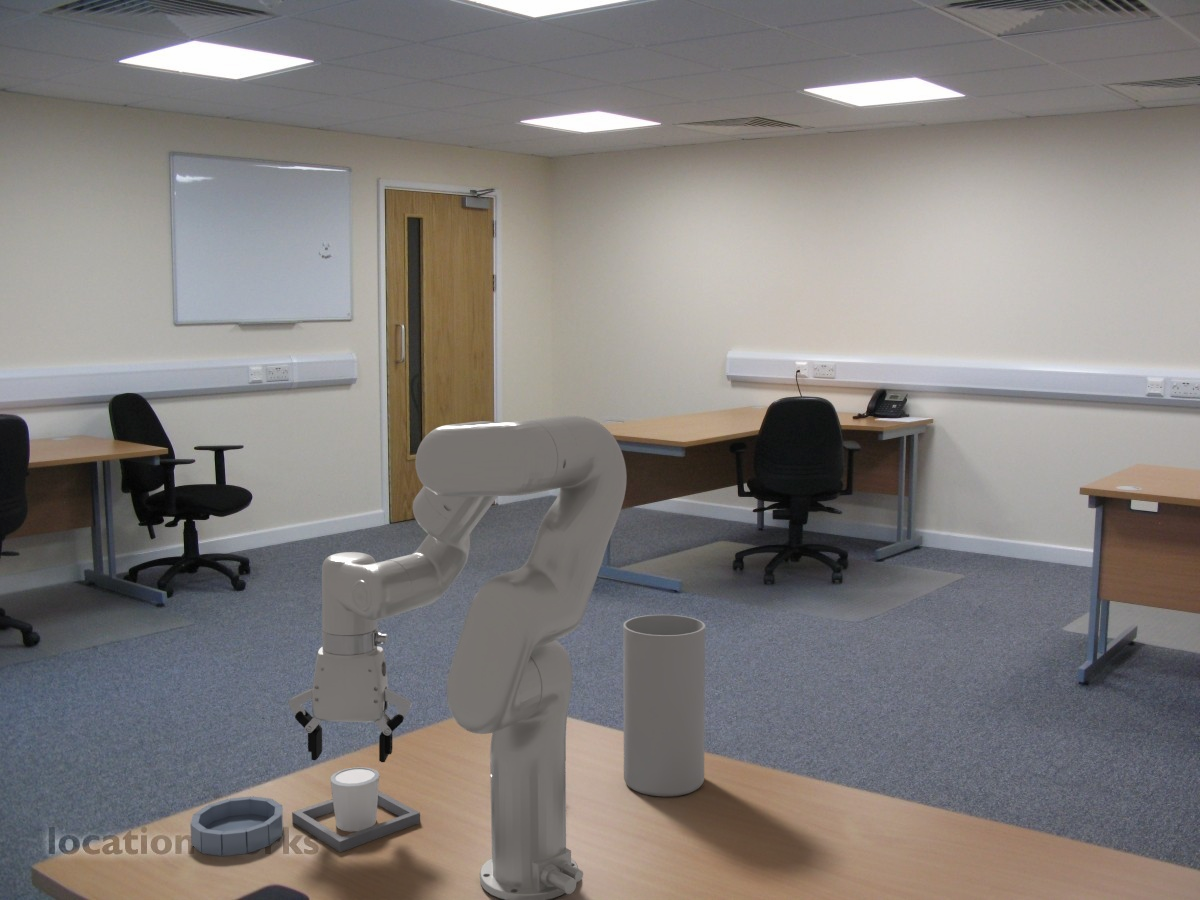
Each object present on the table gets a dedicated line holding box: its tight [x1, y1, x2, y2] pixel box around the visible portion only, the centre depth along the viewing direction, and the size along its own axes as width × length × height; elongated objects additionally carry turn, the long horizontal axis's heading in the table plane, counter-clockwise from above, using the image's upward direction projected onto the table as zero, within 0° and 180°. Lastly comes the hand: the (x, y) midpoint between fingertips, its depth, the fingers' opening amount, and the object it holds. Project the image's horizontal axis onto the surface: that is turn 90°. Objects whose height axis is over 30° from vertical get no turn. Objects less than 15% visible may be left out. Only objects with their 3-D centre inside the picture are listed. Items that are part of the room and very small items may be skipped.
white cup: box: [329, 766, 380, 832], centre depth 158 cm, size 7×7×7 cm
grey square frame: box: [291, 790, 421, 853], centre depth 158 cm, size 13×13×2 cm
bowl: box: [190, 795, 284, 857], centre depth 154 cm, size 12×12×3 cm
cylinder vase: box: [622, 614, 706, 798], centre depth 171 cm, size 12×12×25 cm
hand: (350, 757), depth 158 cm, fingers open, 9 cm apart
